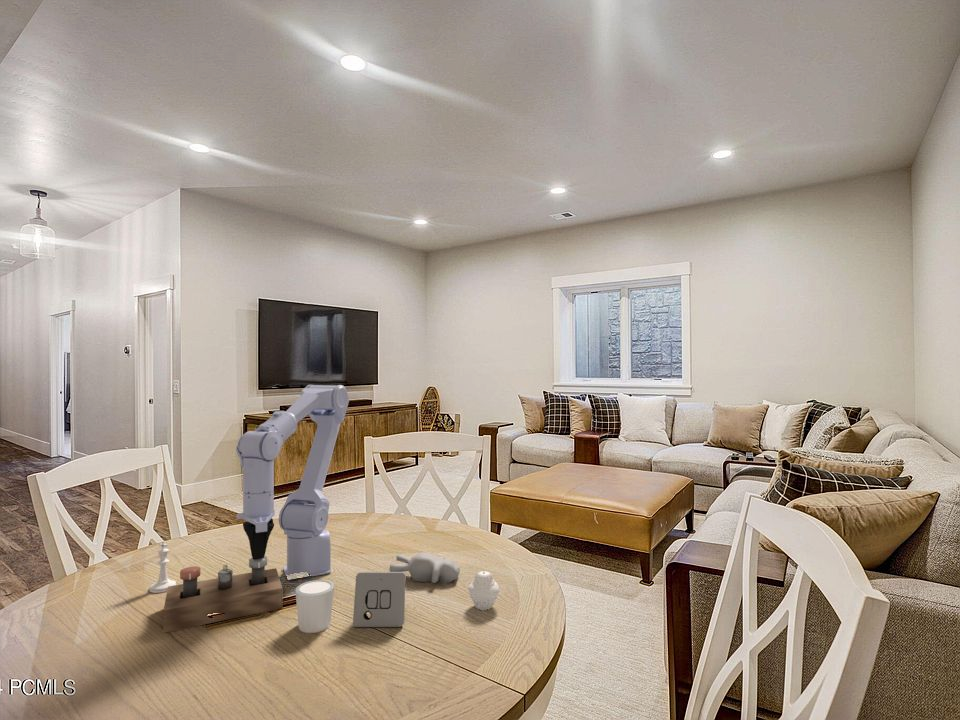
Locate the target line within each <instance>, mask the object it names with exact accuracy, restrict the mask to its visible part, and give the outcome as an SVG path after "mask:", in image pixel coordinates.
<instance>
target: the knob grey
mask: <svg viewBox="0 0 960 720" xmlns="http://www.w3.org/2000/svg"><path fill="white" fill-rule="evenodd" d="M267 565H268V557H267V556H266V555H265V556H264V558H262V559H255V560H253V558H252V557H251V558H249V561H248V568H250V569H251V572H252V586H254V585H259V584H265V570H266V569H265V568H266V566H267Z"/></svg>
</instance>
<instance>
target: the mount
mask: <svg viewBox="0 0 960 720" xmlns="http://www.w3.org/2000/svg"><path fill="white" fill-rule="evenodd" d="M283 589H284V588H283V585H282V582H281V579H280V576H279V573H278V569H277V568H270V569H265V584H259V585H254V586H252V571H251V572H247V573H245V572H244V573H240V574H235V575H233V576H232V587H231V588H230V589H227V590H218V577H216V578H210V579H205V580H200V581H199V580H197V596H193V597H188V598H183V583H181V584H176V585H174V586H169V587H168V589H167V591H166V596H165V601H164V605H163V617H162V619H163V621H162V622H163V630H162V631H163V634H165V633H169V632H174V631H179V630H183V629H188V628H193V627H198V626H199V627H200V626H202V625H209V624H212V623H218V622H221V621H222V622H223V621H227V620H232V619H233V620H234V619H238V618H241V617H247V616H251V615H252V616H253V615H257V614H261V613H262V614H263V613H266V612H270V611H276V610H282V609H283V605H284V604H283V595H284V594H283ZM213 613H225V614H224V615H223V614H222V615H220V616H215V617H213V618H209V617H208V616H207V615H208V614H213Z"/></svg>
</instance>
